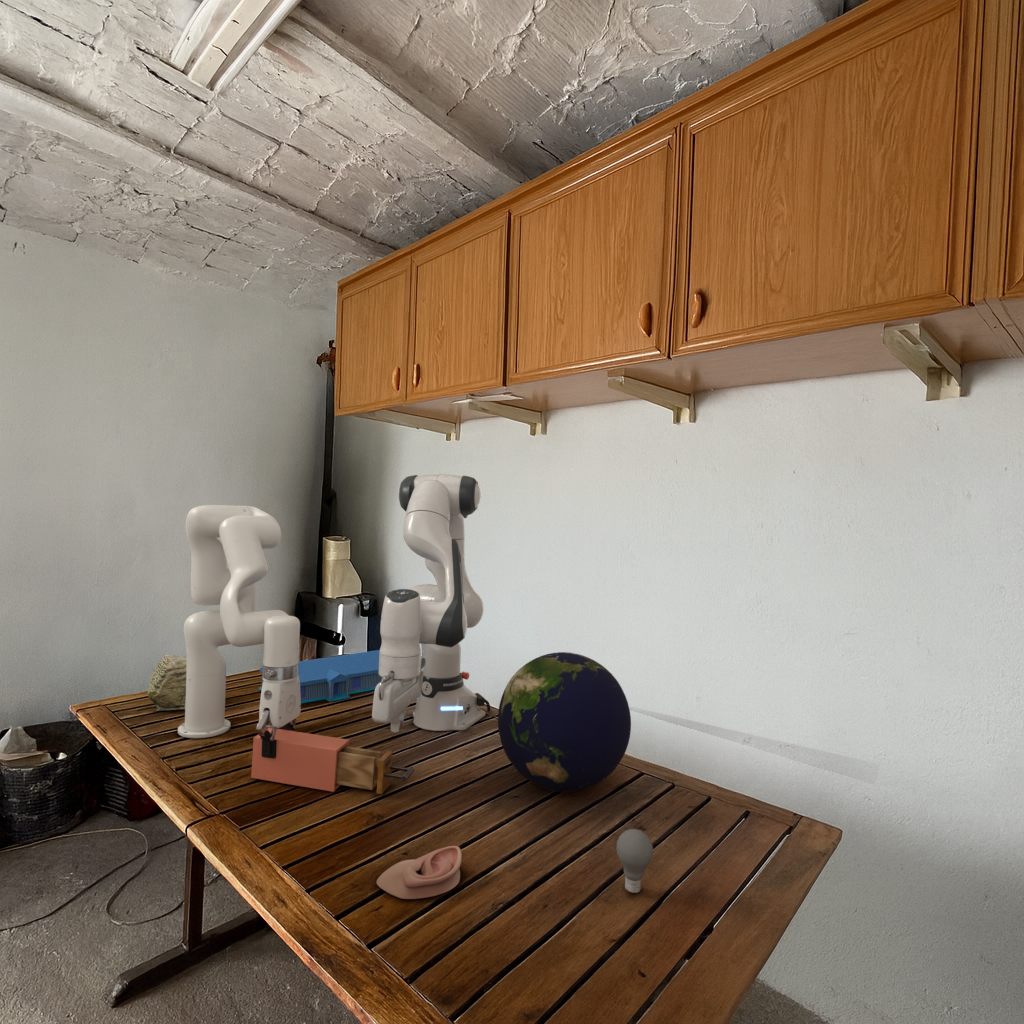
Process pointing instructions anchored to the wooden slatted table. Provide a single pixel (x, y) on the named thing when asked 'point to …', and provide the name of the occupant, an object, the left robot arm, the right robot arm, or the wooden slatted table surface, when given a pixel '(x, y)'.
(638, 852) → the light bulb
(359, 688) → the model building
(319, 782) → the cabinet
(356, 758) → the drawer
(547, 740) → the globe
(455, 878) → the anatomical model
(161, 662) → the fossil
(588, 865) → the wooden slatted table surface
